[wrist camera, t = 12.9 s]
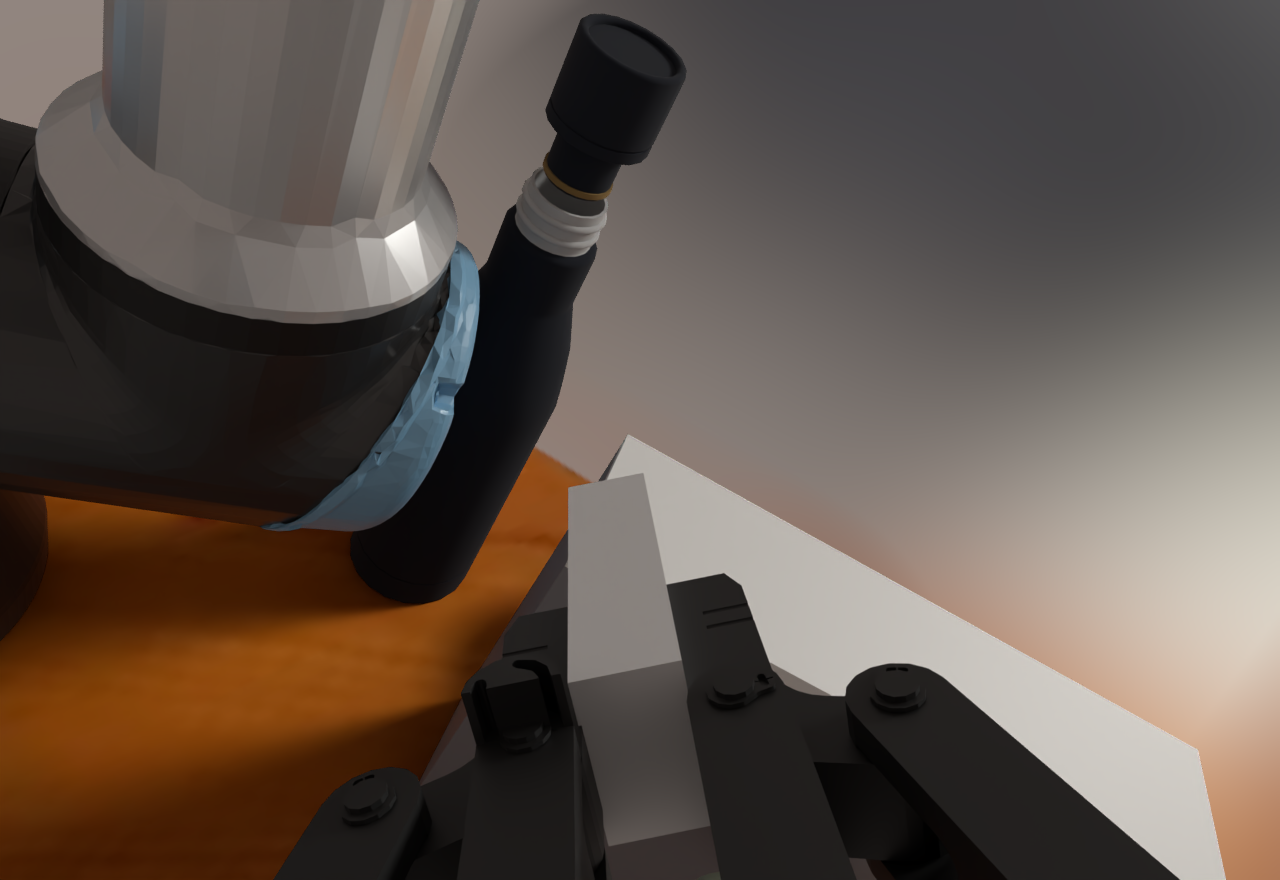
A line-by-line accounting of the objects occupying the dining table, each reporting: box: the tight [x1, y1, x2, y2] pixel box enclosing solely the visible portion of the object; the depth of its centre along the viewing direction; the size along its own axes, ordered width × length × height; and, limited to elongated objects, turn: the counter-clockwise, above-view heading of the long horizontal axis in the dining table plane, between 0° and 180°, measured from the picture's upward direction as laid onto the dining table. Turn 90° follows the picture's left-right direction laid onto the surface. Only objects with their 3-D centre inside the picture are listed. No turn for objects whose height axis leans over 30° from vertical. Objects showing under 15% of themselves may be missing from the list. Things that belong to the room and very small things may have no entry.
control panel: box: [419, 435, 1226, 880], centre depth 37 cm, size 6×24×21 cm, turn 74°
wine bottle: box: [351, 14, 686, 604], centre depth 40 cm, size 6×6×30 cm
